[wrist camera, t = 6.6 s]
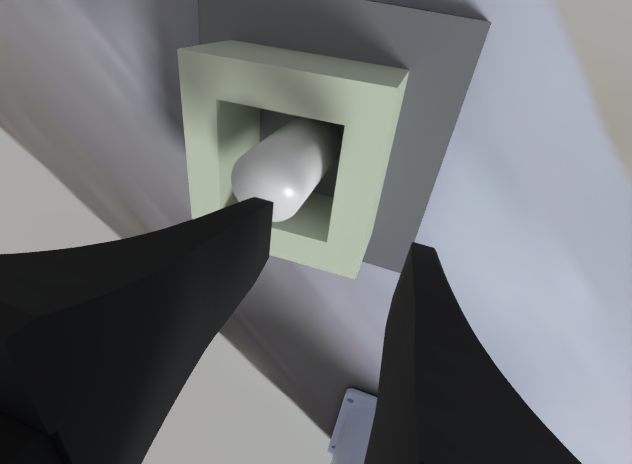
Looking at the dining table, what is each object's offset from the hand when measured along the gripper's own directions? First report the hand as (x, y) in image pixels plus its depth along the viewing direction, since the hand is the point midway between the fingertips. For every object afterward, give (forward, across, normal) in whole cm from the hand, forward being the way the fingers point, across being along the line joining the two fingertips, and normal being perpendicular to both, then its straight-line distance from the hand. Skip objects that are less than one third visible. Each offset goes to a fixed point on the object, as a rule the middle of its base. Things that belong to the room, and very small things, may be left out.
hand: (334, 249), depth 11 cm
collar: (+8, +4, 0) cm, 9 cm away
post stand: (+9, +3, 0) cm, 9 cm away
